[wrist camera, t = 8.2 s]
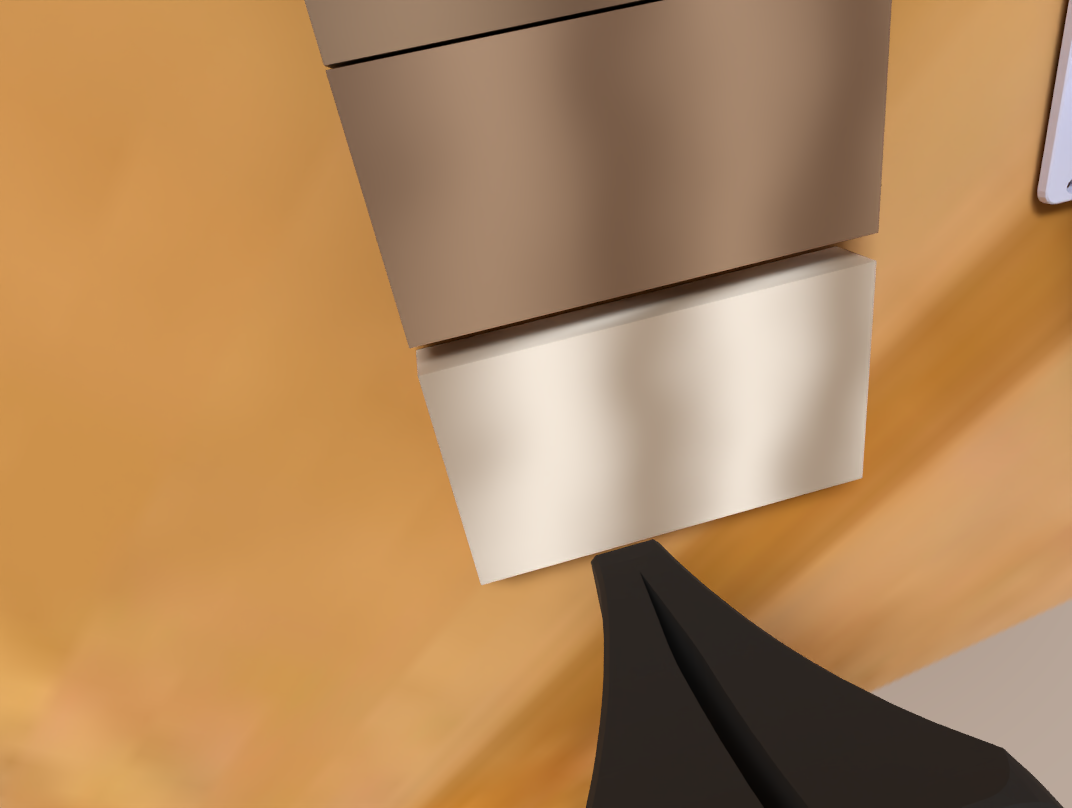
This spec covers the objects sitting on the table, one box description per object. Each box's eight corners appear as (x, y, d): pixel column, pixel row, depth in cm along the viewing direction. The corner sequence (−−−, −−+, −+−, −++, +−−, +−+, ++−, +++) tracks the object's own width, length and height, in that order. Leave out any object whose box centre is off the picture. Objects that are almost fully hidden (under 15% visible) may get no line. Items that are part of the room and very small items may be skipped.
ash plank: (836, 246, 21) (876, 260, 19) (828, 450, 25) (862, 477, 23) (416, 350, 20) (417, 376, 18) (475, 547, 24) (481, 584, 22)
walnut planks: (854, -405, 14) (919, -475, 13) (837, 220, 21) (878, 232, 19) (221, -307, 13) (192, -370, 11) (408, 325, 20) (409, 348, 18)
